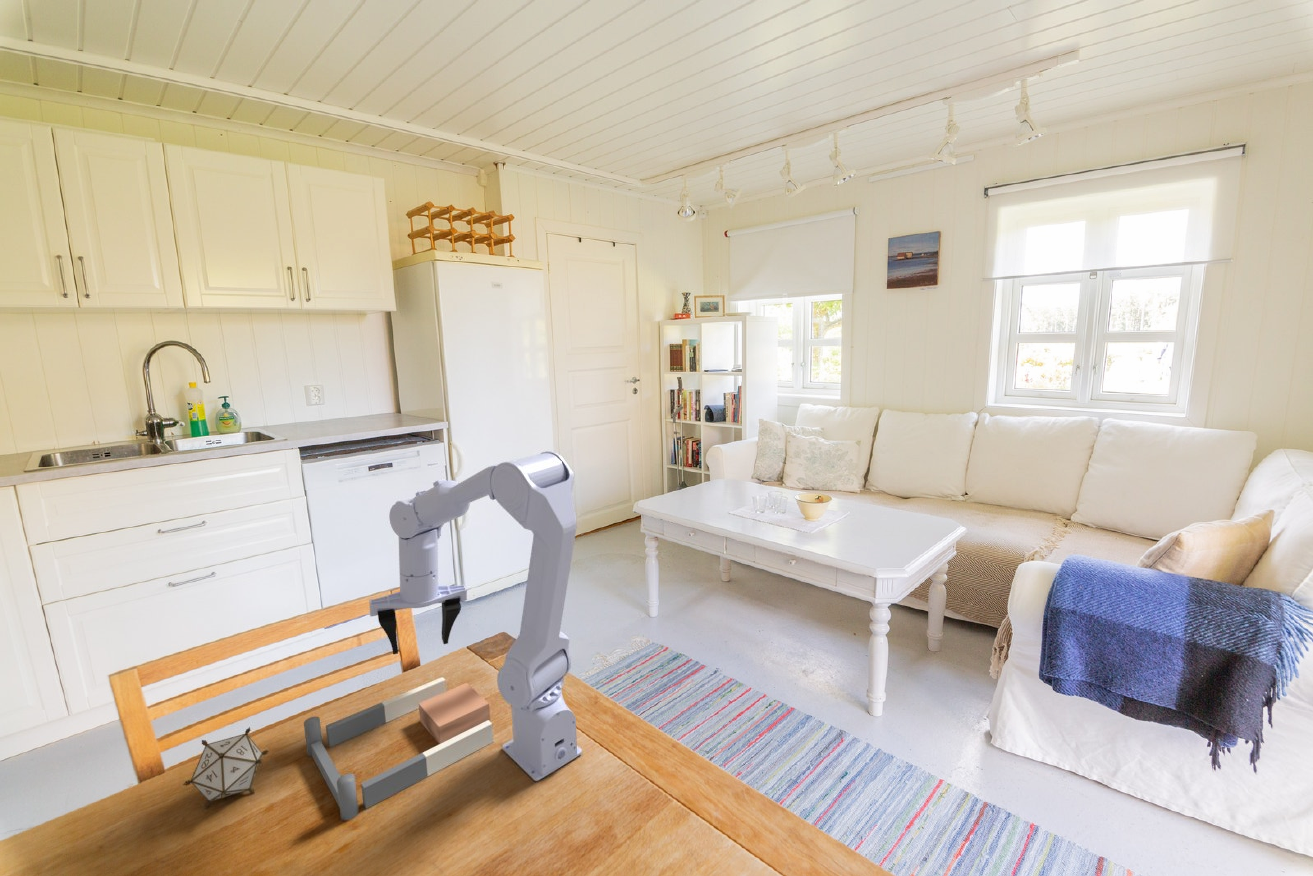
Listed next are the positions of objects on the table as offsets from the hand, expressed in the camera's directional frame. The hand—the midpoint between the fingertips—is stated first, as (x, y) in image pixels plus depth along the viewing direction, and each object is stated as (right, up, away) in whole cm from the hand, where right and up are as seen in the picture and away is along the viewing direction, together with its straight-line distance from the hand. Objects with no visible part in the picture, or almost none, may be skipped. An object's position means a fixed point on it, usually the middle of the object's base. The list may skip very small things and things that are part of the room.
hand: (420, 645), depth 95 cm
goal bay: (-3, -12, -13) cm, 18 cm away
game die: (-18, -14, -18) cm, 29 cm away
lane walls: (+5, -11, -6) cm, 13 cm away
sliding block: (+7, -11, -4) cm, 14 cm away
